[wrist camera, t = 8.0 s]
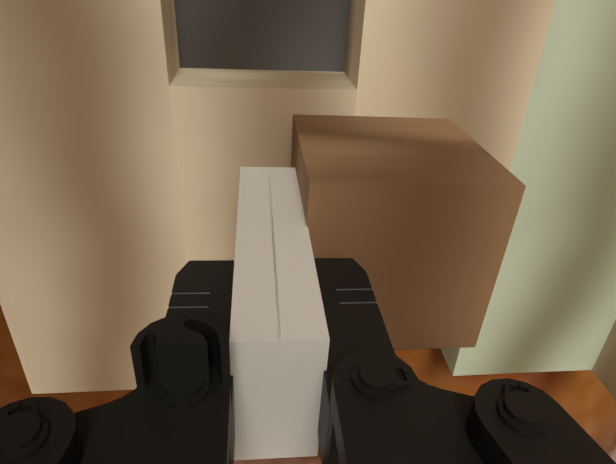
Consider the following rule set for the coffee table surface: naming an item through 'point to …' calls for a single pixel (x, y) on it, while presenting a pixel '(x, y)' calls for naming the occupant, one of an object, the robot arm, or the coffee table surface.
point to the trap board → (289, 156)
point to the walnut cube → (409, 217)
